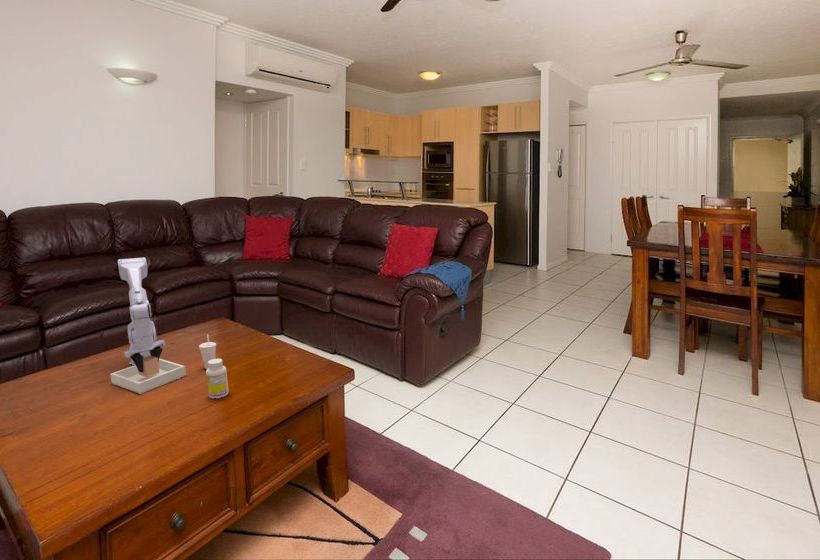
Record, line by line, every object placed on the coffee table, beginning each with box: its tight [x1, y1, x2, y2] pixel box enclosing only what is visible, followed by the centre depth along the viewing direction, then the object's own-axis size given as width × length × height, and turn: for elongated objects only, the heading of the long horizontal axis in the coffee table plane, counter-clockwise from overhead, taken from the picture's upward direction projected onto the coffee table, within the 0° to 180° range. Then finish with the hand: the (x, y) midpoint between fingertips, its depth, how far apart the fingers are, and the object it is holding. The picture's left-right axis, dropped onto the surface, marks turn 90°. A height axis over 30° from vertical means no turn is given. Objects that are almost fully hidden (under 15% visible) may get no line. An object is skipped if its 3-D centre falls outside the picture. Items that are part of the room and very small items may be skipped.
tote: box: [110, 358, 187, 395], centre depth 174 cm, size 18×18×4 cm
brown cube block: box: [138, 355, 159, 377], centre depth 173 cm, size 5×5×6 cm
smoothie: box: [198, 333, 217, 370], centre depth 184 cm, size 6×6×14 cm
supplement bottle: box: [205, 358, 230, 399], centre depth 160 cm, size 7×7×13 cm
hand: (148, 369), depth 173 cm, fingers closed on brown cube block, 5 cm apart
